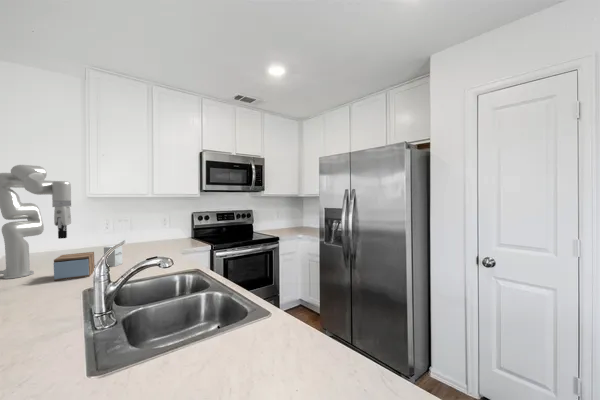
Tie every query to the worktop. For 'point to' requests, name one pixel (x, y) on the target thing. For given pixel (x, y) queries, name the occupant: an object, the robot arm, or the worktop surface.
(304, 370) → the worktop surface
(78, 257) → the tan storage bin
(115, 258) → the supplement box
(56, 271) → the tray
